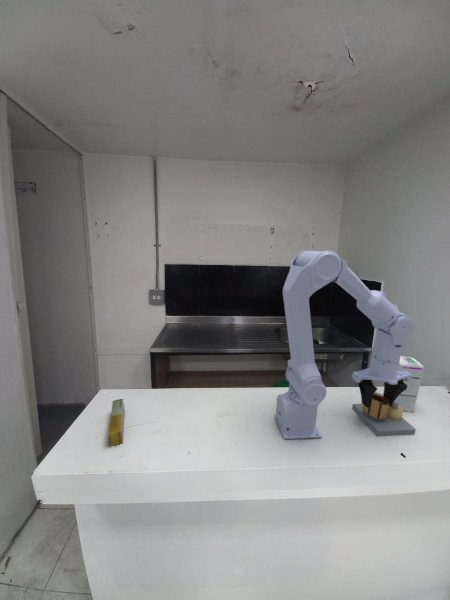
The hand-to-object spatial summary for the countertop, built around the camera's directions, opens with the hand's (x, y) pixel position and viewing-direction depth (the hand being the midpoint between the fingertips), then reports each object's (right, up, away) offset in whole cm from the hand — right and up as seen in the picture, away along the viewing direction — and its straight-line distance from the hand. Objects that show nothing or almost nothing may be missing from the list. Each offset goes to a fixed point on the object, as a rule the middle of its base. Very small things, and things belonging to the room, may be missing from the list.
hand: (376, 404), depth 61 cm
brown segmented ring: (0, -2, 0) cm, 2 cm away
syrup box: (+12, -4, +8) cm, 15 cm away
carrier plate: (+2, -5, +1) cm, 5 cm away
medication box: (-66, -4, -3) cm, 67 cm away
